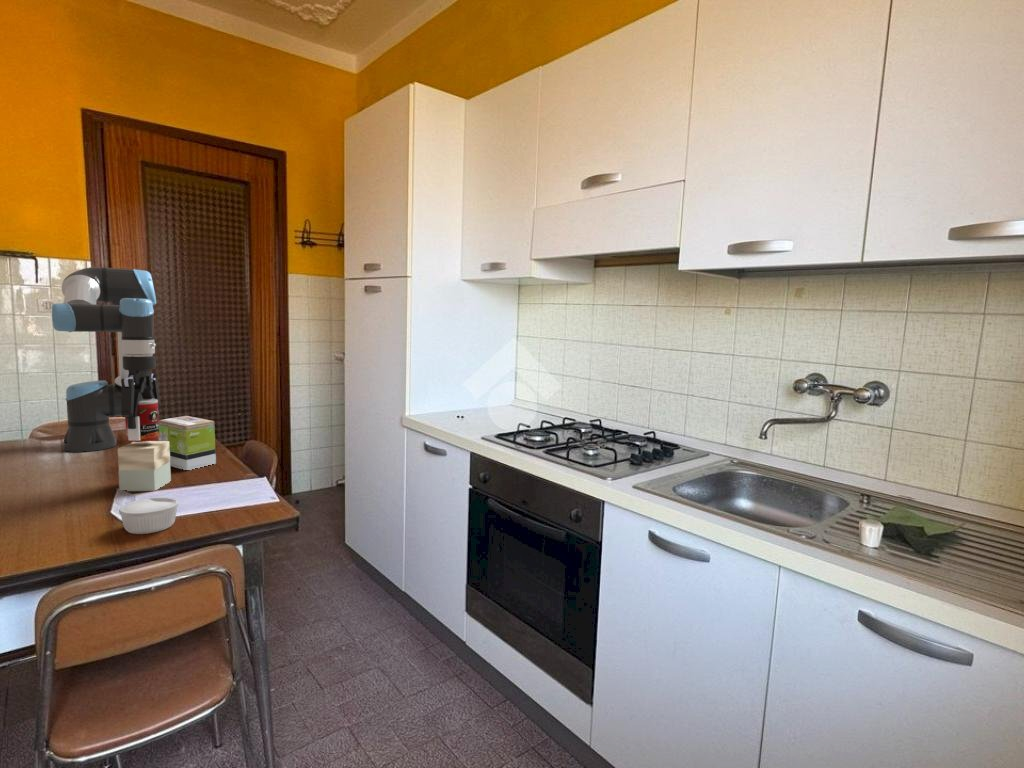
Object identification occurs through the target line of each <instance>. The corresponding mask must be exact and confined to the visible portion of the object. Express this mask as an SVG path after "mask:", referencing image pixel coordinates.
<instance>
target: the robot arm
mask: <svg viewBox="0 0 1024 768" xmlns="http://www.w3.org/2000/svg"><path fill="white" fill-rule="evenodd" d="M152 277H153V276H152V274H151V272H149V271H148V270H143V269H135V268H117V267H101V266H91V267H90V266H89V267H85V268H81V269H78V270H76V271H73V272H72V273H70V274H68V275H67V276H65V278H64V279H63V281H62V284H61V292H62V295H63V296H64V297H63V298H64V299H63V303H58V302H57V303H53V304H52V305H51V321H52V328H53V329H54V330H55V331H58V332H68V333H74V332H75V333H77V332H78V333H81V332H90V333H92V332H93V333H94V332H95V333H96V332H97V333H98V332H99V333H101V332H103V333H104V332H105V333H108V332H109V333H111V332H112V333H116V334H117V348H118V349H117V350H118V351H117V352H118V369H119V370H118V372H119V373H118V374H119V376H117V377H116V378H115V379H114V383H113V384H111V383H110V384H109V383H108V381H106V380H104V379H103V380H92V381H85V382H79V383H74V384H71V385H69V386H68V387H67V388H66V389H65V390H66V391H65V401H66V414H67V428H66V429H67V430H66V433H65V436H64V438H63V441H62V450H63V451H64V450H65V452H69V451H70V452H71V453H72V452H73V453H82V452H83V451H86V452H95V451H102V450H107V449H110V448H113V447H114V448H115V447H116V446H117V445H116V444H117V438H116V435H115V433H114V431H113V429H112V427H111V424H110V418H111V417H123V418H125V417H127V424H128V440H127V441H128V442H130V441H139V440H141V438H140V418H139V416H137V414H138V408H139V402H140V398H143V399H152V398H153V399H157V400H158V412H160V410H161V398H160V390H159V383H158V378H159V377H158V376H159V375H158V373H152V370H155V369H156V367H157V362H156V356H155V355H154V354H155V353H156V348H155V347H156V346H157V345H156V343H155V324H154V323H155V320H154V313H155V310H154V305H157V297H156V292H155V288H154V283H153V282H154V281H153V278H152ZM97 303H103V304H97Z"/></svg>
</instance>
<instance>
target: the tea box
mask: <svg viewBox="0 0 1024 768" xmlns="http://www.w3.org/2000/svg"><path fill="white" fill-rule="evenodd" d="M215 430H216V428H215V420H210V419H205V418H200V417H195V416H189V415H183V416H178V417H177V416H176V417H171V418H165V419H159V438H158V439H157V441H169V445H170V467H172V468H176V469H179V470H182V469H183V471H185V470H190V471H193V470H192V469H194V470H196V469H195V468H198V469H201V468H200V467H203V468H205V467H204V466H207V467H209V466H208V465H211V466H213V465H212V464H214V465H217V455H216V434H215Z"/></svg>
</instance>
